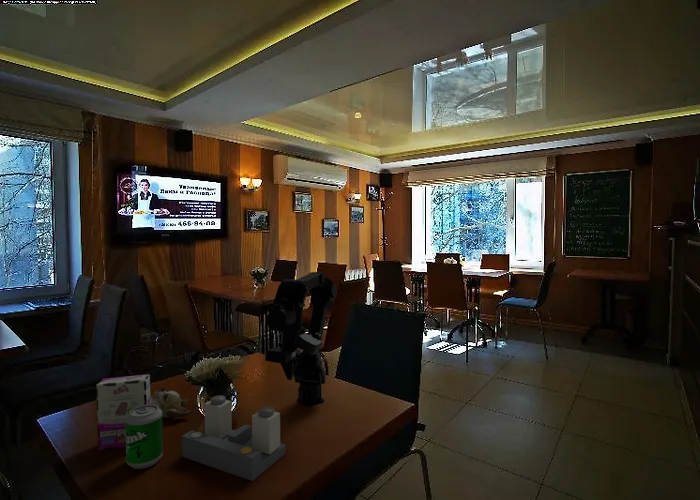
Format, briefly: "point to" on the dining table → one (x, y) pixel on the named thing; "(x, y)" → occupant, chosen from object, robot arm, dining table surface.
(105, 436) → the candy bar box
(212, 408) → the button
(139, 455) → the soda can
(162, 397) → the ceramic sculpture
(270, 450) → the button
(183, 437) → the switch panel
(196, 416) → the dining table surface
